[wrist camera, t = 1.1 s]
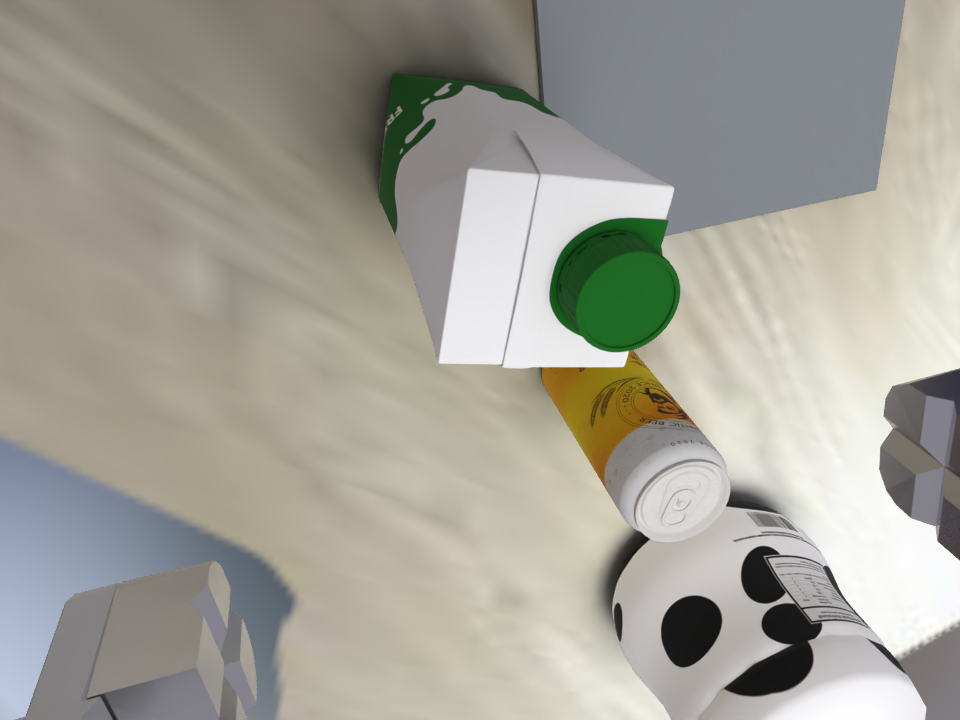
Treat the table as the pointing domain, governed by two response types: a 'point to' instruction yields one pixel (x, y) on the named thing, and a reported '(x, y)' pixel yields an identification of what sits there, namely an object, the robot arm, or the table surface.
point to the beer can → (642, 447)
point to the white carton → (522, 229)
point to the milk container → (753, 628)
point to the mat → (727, 95)
